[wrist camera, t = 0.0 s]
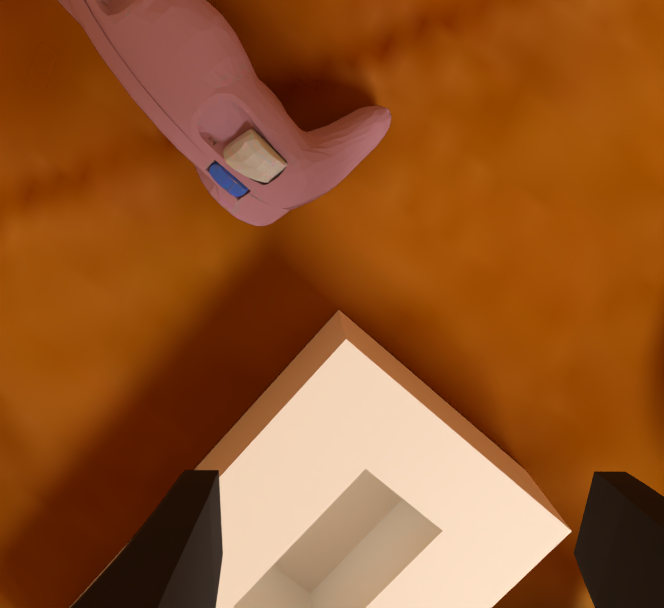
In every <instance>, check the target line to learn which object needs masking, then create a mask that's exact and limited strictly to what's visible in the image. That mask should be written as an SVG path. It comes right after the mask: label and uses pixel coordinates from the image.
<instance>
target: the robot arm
mask: <svg viewBox="0 0 664 608" xmlns="http://www.w3.org/2000/svg"><path fill="white" fill-rule="evenodd" d="M574 555H575V557H576V560H577V563H578V566H579V568H580V571H581V574H582V576H583V579H584V582H585V584H586V587H587V589H588V592H589V594H590V596H591V599H592V601H593V604H594V606H595V608H664V497H663V496H662V495H660V494H659V493H657V492H656V491H655V490H653V489H652V488H650V487H649V486H647V485H646V484H644V483H643V482H641V481H639V480H638V479H636V478H635V477H633V476H631V475H630V474H628V473H626V472H594V475H593V479H592V483H591V487H590V491H589V495H588V499H587V503H586V507H585V511H584V515H583V519H582V523H581V527H580V531H579V535H578V539H577V543H576V547H575V551H574ZM222 557H223V547H222V526H221V506H220V485H219V470H185V471H184V472H183V473H182V474H181V475H180V476H179V478H178V479H177V480H176V482H175V483H174V485H173V486H172V487H171V489H170V490H169V492H168V493H167V494H166V496H165V497H164V498H163V500H162V501H161V502H160V504H159V505H158V506H157V508H156V509H155V510H154V512H153V513H152V514H151V515H150V517H149V518H148V519H147V521H146V522H145V523H144V524H143V526H142V527H141V528H140V529H139V530H138V532H137V533H136V534H135V535H134V537H133V538H132V539H131V540H130V541H129V543H128V544H127V545H126V546H125V547H124V549H123V550H122V551H121V552H120V553H119V555H118V556H117V557H116V558H115V559H114V560H113V562H112V563H111V564H110V565H109V566H108V567H107V568H106V569H105V570H104V571H103V573H102V574H101V575H100V576H99V577H98V578H97V579H96V580H95V581H94V582H93V583H92V585H91V586H90V587H89V588H88V589H87V590H86V591H85V592H84V593H83V594H82V596H81V597H80V598H79V599H78V600H77V601H76V602H75V603H74V604H73V605H72V606H71V607H70V608H216V602H217V595H218V588H219V580H220V572H221V565H222Z"/></svg>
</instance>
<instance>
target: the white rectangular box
mask: <svg viewBox="0 0 664 608" xmlns="http://www.w3.org/2000/svg"><path fill="white" fill-rule="evenodd" d="M194 470H219V485H220V506H221V526H222V547H223V557H222V565H221V572H220V580H219V588H218V595H217V602H216V608H492V607H493V606H494V605H495V604H496V603H497V602H498V601H499V600H500V599H501V598H502V597H503V596H504V595H505V594H506V593H507V592H509V591H510V590H511V589H512V588H513V587H514V586H515V585H516V584H517V583H518V582H519V581H520V580H521V579H522V578H523V577H524V576H525V575H526V574H527V573H528V572H529V571H531V570H532V569H533V568H534V567H535V566H536V565H537V564H538V563H539V562H540V561H541V560H542V559H543V558H544V557H545V556H546V555H547V554H548V553H549V552H550V551H552V550H553V549H554V548H555V547H556V546H557V545H558V544H559V543H560V542H561V541H562V540H563V539H564V538H565V537H566V536H567V535H568V534H569V533H570V532H571V529H570V528H569V527H568V525H567V524H566V523H565V521H564V520H563V519H562V517H561V516H560V515H559V514H558V512H557V511H556V510H555V508H554V507H553V506H552V504H551V503H550V502H549V500H548V499H547V498H546V496H545V495H544V494H543V492H542V491H541V490H540V488H539V487H538V486H537V485H536V483H535V482H534V481H533V479H532V478H531V477H530V475H529V474H528V473H527V471H526V470H525V469H524V468H522V467H521V466H520V465H519V464H518V463H517V462H515V461H514V460H513V459H512V458H511V457H510V456H508V455H507V454H506V453H505V452H504V451H503V450H501V449H500V448H499V447H498V446H497V445H496V444H494V443H493V442H492V441H491V440H490V439H489V438H487V437H486V436H485V435H484V434H483V433H482V432H481V431H479V430H478V429H477V428H476V427H475V426H474V425H472V424H471V423H470V422H469V421H468V420H467V419H465V418H464V417H463V416H462V415H461V414H460V413H458V412H457V411H456V410H455V409H454V408H453V407H451V406H450V405H449V404H448V403H447V402H446V401H444V400H443V399H442V398H441V397H440V396H439V395H438V394H436V393H435V392H434V391H433V390H432V389H431V388H429V387H428V386H427V385H426V384H425V383H424V382H422V381H421V380H420V379H419V378H418V377H417V376H415V375H414V374H413V373H412V372H411V371H410V370H408V369H407V368H406V367H405V366H404V365H403V364H401V363H400V362H399V361H398V360H397V359H396V358H395V357H393V356H392V355H391V354H390V353H389V352H388V351H386V350H385V349H384V348H383V347H382V346H381V345H379V344H378V343H377V342H376V341H375V340H374V339H372V338H371V337H370V336H369V335H368V334H367V333H365V332H364V331H363V330H362V329H361V328H360V327H358V326H357V325H356V324H355V323H354V322H353V321H352V320H350V319H349V318H348V317H347V316H346V315H345V314H343V313H342V312H341V311H340V310H338V311H337V312H336V313H335V314H334V315H333V317H332V318H331V319H330V320H329V321H328V322H327V323H326V324H325V325H324V326H323V328H322V329H321V330H320V331H319V332H318V333H317V334H316V335H315V336H314V338H313V339H312V340H311V341H310V342H309V343H308V344H307V345H306V346H305V347H304V349H303V350H302V351H301V352H300V353H299V354H298V355H297V356H296V357H295V359H294V360H293V361H292V362H291V363H290V364H289V365H288V366H287V367H286V369H285V370H284V371H283V372H282V373H281V374H280V375H279V376H278V377H277V378H276V380H275V381H274V382H273V383H272V384H271V385H270V386H269V387H268V388H267V390H266V391H265V392H264V393H263V394H262V395H261V396H260V397H259V398H258V399H257V401H256V402H255V403H254V404H253V405H252V406H251V407H250V408H249V409H248V411H247V412H246V413H245V414H244V415H243V416H242V417H241V418H240V419H239V420H238V422H237V423H236V424H235V425H234V426H233V427H232V428H231V429H230V430H229V432H228V433H227V434H226V435H225V436H224V437H223V438H222V439H221V440H220V442H219V443H218V444H217V445H216V446H215V447H214V448H213V449H212V450H211V451H210V453H209V454H208V455H207V456H206V457H205V458H204V459H203V460H202V461H201V463H200V464H199V465H198V466H197V467H196V468H195V469H194ZM128 543H129V542H128ZM128 543H127V544H128ZM127 544H126V545H127ZM126 545H125V546H126ZM123 549H124V548H123ZM123 549H122V550H123ZM122 550H121V551H122ZM121 551H120V552H121ZM120 552H119V553H120ZM119 553H118V554H117V555H116V557H117V556H118V555H119ZM116 557H115V558H116ZM115 558H114V559H115ZM114 559H113V560H114ZM113 560H112V561H111V562H110V563H109V564H108V565H107V566H106V568H107V567H108V566H109V565H110V564H111V563H112V562H113ZM106 568H105V569H106ZM105 569H104V570H105ZM104 570H103V571H104ZM103 571H102V572H101V573H100V574H99V575H98V576H97V578H98V577H99V576H100V575H101V574H102V573H103ZM97 578H96V579H97ZM96 579H95V580H96ZM95 580H94V581H95ZM94 581H93V582H94ZM93 582H92V583H93ZM92 583H91V584H90V585H89V586H88V588H89V587H90V586H91V585H92ZM88 588H87V589H88ZM87 589H86V590H87ZM86 590H85V591H86ZM85 591H84V592H85ZM84 592H83V593H84ZM83 593H82V594H83ZM82 594H81V595H80V596H79V597H78V599H79V598H80V597H81V596H82ZM78 599H77V600H78ZM77 600H76V601H77ZM76 601H75V602H76ZM75 602H74V603H75ZM74 603H73V604H74ZM73 604H72V605H73ZM72 605H71V606H72ZM71 606H70V607H71ZM70 607H69V608H70Z"/></svg>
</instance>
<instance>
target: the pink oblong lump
mask: <svg viewBox="0 0 664 608" xmlns="http://www.w3.org/2000/svg"><path fill="white" fill-rule="evenodd" d="M58 1H59V3H60V4H61V5H62V6H63V7H64V8H65V9H66V10H67V11H68V12H69V13H70V14H71V15H72V16H73V17H74V18H75V19H76V20H77V21H78V22H79V23H80V24H81V25H82V27H83V28H84V30H85V32H86V33H87V35H88V37H89V38H90V40H91V42H92V43H93V45H94V46H95V48H96V50H97V51H98V53H99V54H100V56H101V57H102V58H103V60H104V61H105V62H106V64H107V65H108V67H109V68H110V69H111V71H112V72H113V73H114V75H115V76H116V77H117V79H118V80H119V81H120V83H121V84H122V85H123V87H124V88H125V89H126V91H127V92H128V93H129V95H130V96H131V97H132V98H133V100H134V101H135V102H136V103H137V104H138V105H139V106H140V108H141V109H142V110H143V111H144V112H145V113H146V115H147V116H148V117H149V118H150V119H151V120H152V121H153V123H154V124H155V125H156V126H157V127H158V128H159V130H160V131H161V132H162V133H163V134H164V135H165V136H166V137H167V138H168V139H169V140H170V141H171V142H172V143H173V144H174V145H175V147H176V148H177V149H178V150H179V151H180V152H181V153H182V154H184V155H185V156H186V157H187V158H188V159H189V160H190V161H191V162H192V163H193V164H194V165H195V167H196V170H197V172H198V174H199V176H200V179H201V181H202V182H203V184H204V185H205V187H206V189H207V190H208V192H209V193H210V194H211V195H212V196H213V198H214V199H215V200H216V201H217V202H218V203H219V204H220V205H221V206H222V207H223V208H225V209H226V210H227V211H228V212H230V213H231V214H232V215H233V216H235V217H236V218H238V219H240V220H242V221H244V222H246V223H249V224H252V225H255V226H265V225H269V224H271V223H273V222H275V221H276V220H277V219H279V218H280V217H282V216H283V215H284V214H286V213H287V212H288V211H290V210H292V209H295V208H297V207H299V206H302V205H304V204H306V203H309V202H311V201H313V200H315V199H317V198H318V197H320V196H322V195H324V194H325V193H327V192H328V191H329V190H331V189H332V188H333V187H335V186H336V185H337V184H339V183H340V182H341V181H342V180H343V179H344V178H345V177H346V176H347V175H348V174H349V173H350V172H351V171H352V170H353V169H354V168H355V167H356V166H357V165H358V164H359V163H360V162H361V161H362V160H363V159H364V158H365V157H366V156H367V155H368V154H369V153H370V152H371V151H372V150H373V149H374V148H375V147H376V146H377V145H378V143H379V142H380V141H381V139H382V138H383V137H384V136H385V134H386V132H387V130H388V128H389V126H390V123H391V114H390V111H389V110H388V108H385V107H382V106H377V105H376V106H369V107H363V108H360V109H357V110H355V111H354V112H352V113H350V114H348V115H346V116H344V117H342V118H340V119H339V120H337V121H335V122H333V123H331V124H329V125H327V126H324V127H321V128H318V129H315V130H311V131H308V132H306V131H302V130H301V129H300V128H299V127H298V126H297V125H296V124H295V123H294V122H293V120H292V119H291V118H290V117H289V115H288V114H287V112H286V111H285V109H284V107H283V105H282V103H281V102H280V101H279V99H278V98H277V97H276V96H275V94H274V93H273V92H272V91H271V90H270V89H269V88H268V87H267V86H266V85H265V84H264V83H263V82H262V81H260V80H259V79H258V77H257V76H256V73H255V71H254V69H253V67H252V65H251V62H250V60H249V58H248V56H247V54H246V52H245V50H244V48H243V46H242V44H241V42H240V40H239V39H238V37H237V35H236V33H235V31H234V30H233V29H232V27H231V26H230V25H229V23H228V22H227V21H226V19H225V18H224V17H223V15H222V14H221V13H220V12H218V11H217V10H216V9H215V8H214V7H213V6H212V5H211V4H210V3H209V2H208V1H206V0H58Z"/></svg>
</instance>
